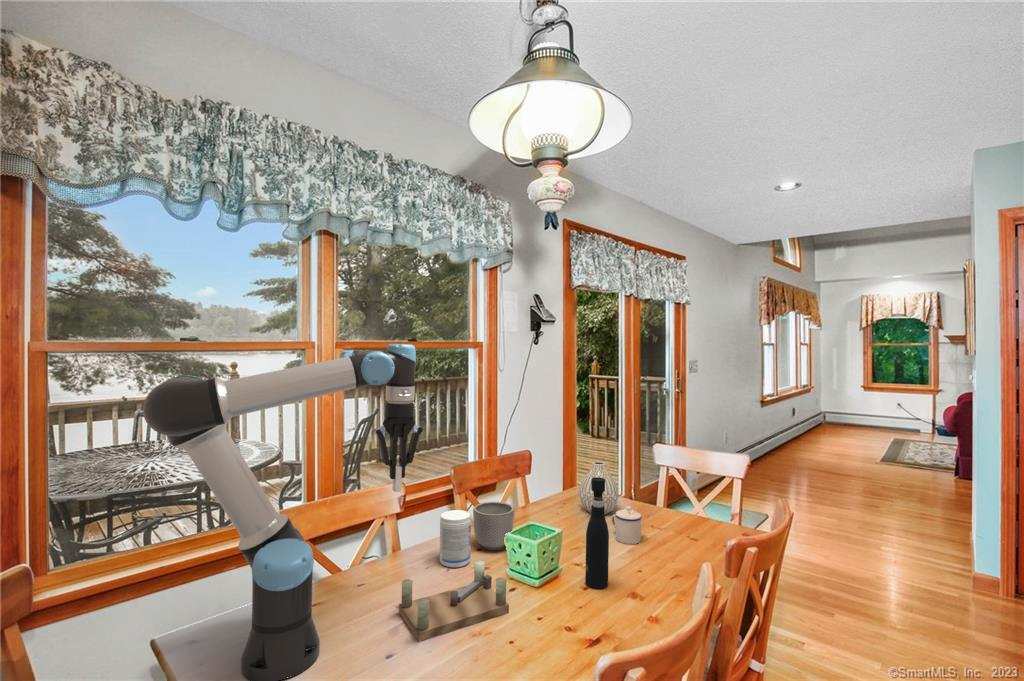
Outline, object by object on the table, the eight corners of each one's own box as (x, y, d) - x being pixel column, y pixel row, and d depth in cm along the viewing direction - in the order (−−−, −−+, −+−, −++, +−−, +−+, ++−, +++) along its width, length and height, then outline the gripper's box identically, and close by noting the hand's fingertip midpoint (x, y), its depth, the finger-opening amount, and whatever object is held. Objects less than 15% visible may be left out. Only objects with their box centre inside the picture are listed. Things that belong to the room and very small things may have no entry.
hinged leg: (461, 601, 124) (462, 579, 124) (452, 598, 125) (453, 577, 125) (486, 582, 134) (486, 561, 134) (477, 579, 135) (478, 559, 136)
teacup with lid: (646, 541, 170) (647, 507, 171) (630, 547, 165) (630, 513, 165) (619, 530, 180) (620, 498, 180) (603, 536, 174) (603, 503, 174)
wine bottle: (612, 584, 139) (614, 479, 140) (600, 592, 135) (601, 483, 135) (593, 576, 144) (595, 474, 144) (580, 584, 139) (582, 478, 139)
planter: (521, 549, 162) (522, 510, 162) (486, 559, 154) (486, 518, 154) (499, 535, 173) (499, 498, 173) (465, 543, 165) (465, 505, 166)
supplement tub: (475, 564, 150) (476, 516, 150) (448, 571, 145) (448, 522, 145) (461, 552, 158) (462, 507, 159) (434, 559, 153) (435, 512, 153)
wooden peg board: (419, 641, 111) (419, 606, 111) (398, 611, 123) (398, 579, 123) (510, 612, 124) (510, 580, 124) (483, 587, 136) (483, 558, 136)
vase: (578, 516, 194) (579, 466, 194) (579, 503, 210) (580, 457, 210) (619, 519, 191) (619, 468, 191) (617, 506, 207) (617, 459, 207)
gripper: (379, 404, 123) (376, 497, 123) (428, 402, 130) (425, 491, 129) (371, 400, 130) (368, 489, 129) (418, 399, 136) (415, 484, 136)
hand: (396, 490), depth 129 cm, fingers closed
